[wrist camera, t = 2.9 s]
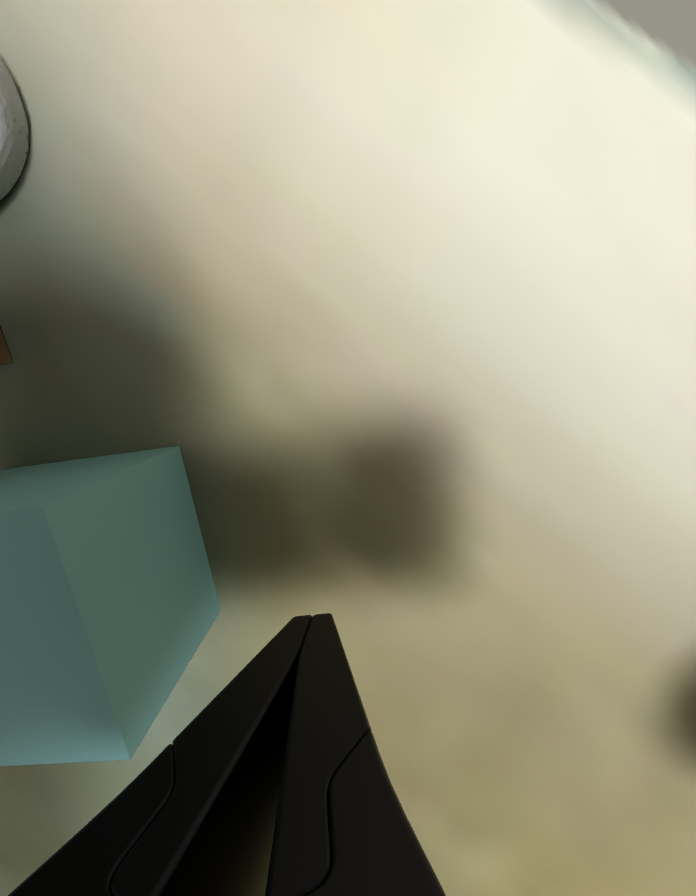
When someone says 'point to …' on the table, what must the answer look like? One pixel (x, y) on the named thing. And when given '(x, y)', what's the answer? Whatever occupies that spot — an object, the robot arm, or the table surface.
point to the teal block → (96, 602)
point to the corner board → (4, 351)
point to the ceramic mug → (11, 132)
